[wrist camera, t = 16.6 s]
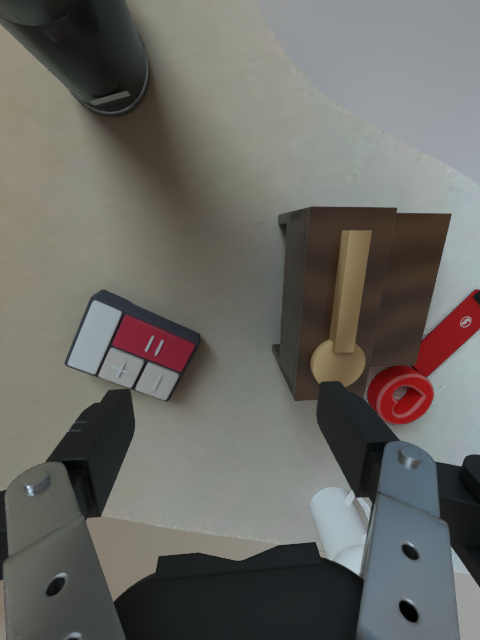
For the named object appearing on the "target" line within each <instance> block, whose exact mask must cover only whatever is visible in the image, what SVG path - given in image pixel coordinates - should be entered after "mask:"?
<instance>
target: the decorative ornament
mask: <svg viewBox="0 0 480 640" xmlns="http://www.w3.org/2000/svg"><path fill="white" fill-rule="evenodd" d="M401 386H409V387H410V389H409V390H408V391H407V392H406V394H405V395H404V396H403V397H402V398H401V399H400V400H399V401H397V400H396V399H395V398H394V397H393V394H394V392H395V390H396V389H397V388H399V387H401ZM367 397H368V402H369V404H370V406H371V407H372V408H373V409H374V410H375V411H376V413H377V414H378V415H379V416H380V417H381V418H382V419H383V420H384V421H386V422H388V423H391V424H406V423H410V422H412V421H414V420H416V419H418V418H419V417H421V416H422V415H423V414H424V413H425V412H426V411H427V410H428V408H429V407H430V405H431V403H432V401H433V397H434V391H433V386H432V384H431V382H430V381H429V380H428V379H427V378H426V377H424V376H423V375H421V374H420V373H419V372H417V371H416V370H414V369H413V368H411V367H408V366H404V365H400V366H393V367H390V368H387V369H385V370H383V371H382V372H380V373H379V374H378V375H377V376H376V377H375V378H374V379H373V380H372V382H371V384H370V386H369V389H368V395H367Z"/></svg>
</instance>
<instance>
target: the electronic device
mask: <svg viewBox="0 0 480 640" xmlns="http://www.w3.org/2000/svg"><path fill="white" fill-rule="evenodd" d="M479 329H480V290H478V289H476V290H474V291H473V292H472V293H471V294H470V295H469V296H468V297H467V298H466V299H465V300H464V301H463V302H462V303H461V304H460V305H459V306H458V307H457V308H456V309H455V310H453V311H452V312H451V313H450V314H449V315H448V316H447V317H446V318H445V319H444V320H443V321H442V322H441V323H440V324H439V325H438V326H437V327H436V328H435V329H434V330H433V331H432V332H431V333H429V334H428V335H427V336H426V337H425V338H424V339H423V340H422V341H421V345H420V349H419V353H418V357H417V362H416V365H412V366H413V367H414V368H415V369H416V370H417V371H419V372H420V373H421V374H422V375H423V376H424V377H427V376H429V375H430V374H431V373H432V372H433V371H434V370H435V369H436V368H437V367H438V366H439V365H440V364H442V363H443V362H444V361H445V360H446V359H447V358H448V357H449V356H450V355H451V354H452V353H454V352H455V351H456V350H457V349H458V348H459V347H460V346H461V345H462V344H463V343H464V342H465V341H467V340H468V339H469V338H470V337H471V336H472V335H473V334H474V333H475V332H476V331H477V330H479Z"/></svg>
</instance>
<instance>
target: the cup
mask: <svg viewBox="0 0 480 640" xmlns="http://www.w3.org/2000/svg"><path fill="white" fill-rule="evenodd" d="M355 497H356V496H355V495H354V493H353V491H352V490H351V492H350V493H349V494H348V493H347V492H346V491H345V490H344V489H342V488H339V487H328V488H325V489H322V490H320V491H319V492H317V493H316V494H315V495H314V496H313V497H312V499H311V501H310V509H311V512H312V515H313V518H314V521H315V524H316V527H317V530H318V533H319V536H320V539H321V542H322V545H323V548H324V551H325V554H326V557H327V559H329V560H332V561H335V562H337V563H339V564H341V565H343V566H345V567H346V568H348V569H350V570H351V571H353V572H354V573H356V574H357V575H359V573H360V568H361V562H362V557H363V551H364V545H365V540H366V534H367V530H366V528H365V526H364V524H363V522H362V520H361V518H360V516H359V514H358V512H357V510H356V508H355V506H354V504H353V500H354V498H355ZM357 500H358V501H359V502H360V504H361V505H362V506H363V508H364V509H365V512H366V515H367V517H368V520H369V517H370V508H369V506H368V505H367V503H366V502H365V501H364V499H363V498H357Z"/></svg>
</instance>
